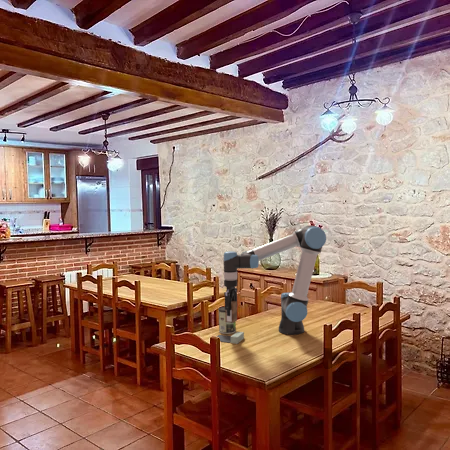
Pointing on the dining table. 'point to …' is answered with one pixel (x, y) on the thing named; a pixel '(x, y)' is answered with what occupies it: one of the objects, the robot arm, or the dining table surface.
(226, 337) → the rubber mat
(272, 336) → the dining table surface
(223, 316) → the coffee can
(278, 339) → the dining table surface
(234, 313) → the walnut block
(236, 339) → the sage ledge
